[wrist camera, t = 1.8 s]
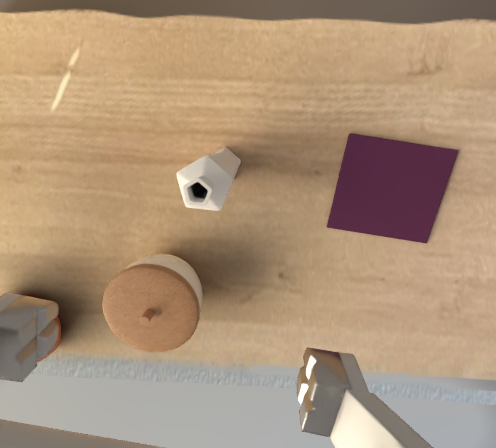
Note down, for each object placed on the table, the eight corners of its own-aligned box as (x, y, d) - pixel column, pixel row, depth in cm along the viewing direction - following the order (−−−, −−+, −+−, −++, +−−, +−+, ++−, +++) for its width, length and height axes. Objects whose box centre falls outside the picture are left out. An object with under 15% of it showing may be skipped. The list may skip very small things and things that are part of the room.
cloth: (457, 150, 36) (458, 150, 36) (425, 242, 40) (426, 243, 40) (349, 133, 36) (349, 133, 36) (327, 226, 40) (327, 227, 40)
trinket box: (127, 237, 42) (89, 270, 33) (211, 244, 42) (196, 279, 33) (131, 310, 45) (97, 358, 36) (209, 317, 45) (194, 367, 36)
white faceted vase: (212, 137, 37) (177, 149, 23) (247, 153, 38) (234, 175, 24) (197, 173, 39) (156, 207, 25) (231, 189, 39) (210, 230, 25)
